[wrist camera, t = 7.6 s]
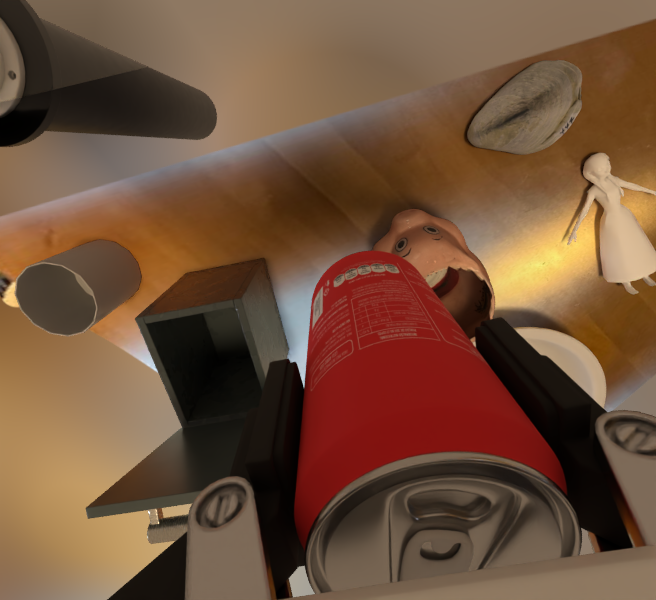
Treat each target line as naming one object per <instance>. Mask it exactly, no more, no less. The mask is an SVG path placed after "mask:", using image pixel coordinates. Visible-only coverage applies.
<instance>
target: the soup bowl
mask: <svg viewBox="0 0 656 600" xmlns="http://www.w3.org/2000/svg"><path fill="white" fill-rule="evenodd" d="M514 329H515V330H516V331H517V332H518V333H519V334H520V335H521V336H522V337H523V338H524V339H525V340H526V341H527V342H528V343H529V344H530V345H531V346H532V347H533V348H534V349H535V350H536V351H537V352H538V353H539V354H540V355H545V356H547V357H549V358H550V359H551V360H552V361H553V362H554V363H556V364H557V365H558V366H559V367H560V368H561V369H562V370H563V371H564V372H565V373H566V374H567V375H568V376H569V377H570V378H571V379H573V380H574V381H575V382H576V383H577V384H578V385H579V386H580V387H581V388H582V389H583V390H584V391H585V392H586V393H587V394H589V395H590V396H591V397H592V398H593V399H594V400H595V401H596V402H597V403H598V404H599V405H600V406H601V407H602V408H604V404H605V398H606V382H605V377H604V373H603V370H602V368H601V365H600V364H599V362H598V360H597V358H596V357H595V356H594V354H593V353H592V352H591V351H590V350H589V349H588V348H587V347H586V346H585V345H584V344H582V343H581V342H580V341H578V340H576V339H575V338H573V337H571V336H569V335H567V334H564V333H561V332H558V331H555V330H551V329H546V328H538V327H518V328H514ZM472 343H473V345H474V346H475V347H476V342H475V341H474V342H472Z"/></svg>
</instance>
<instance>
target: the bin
mask: <svg viewBox="0 0 656 600" xmlns="http://www.w3.org/2000/svg"><path fill="white" fill-rule="evenodd" d="M135 320H136V322H137V324H138V327H139V329H140V331H141V334H142V336H143V338H144V340H145V343H146V345H147V347H148V350H149V352H150V354H151V357H152V359H153V361H154V363H155V366H156V368H157V370H158V373H159V375H160V377H161V380H162V382H163V384H164V386H165V389H166V391H167V393H168V395H169V398H170V400H171V403H172V405H173V407H174V410H175V411H176V414H177V416H178V419H179V421H180V423H181V426H182V428H186V427H193V426H199V425H205V424H211V423H217V422H223V421H229V420H235V419H241V418H246V416H247V413H248V411H249V410H250V409H253V408H258V407H259V404H260V400H261V396H262V392H263V388H264V384H265V380H266V376H267V372H268V368H269V364H270V362H273V361H278V360H283V359H287V356H288V351H289V348H288V344H287V340H286V337H285V333H284V329H283V326H282V322H281V318H280V315H279V311H278V307H277V304H276V300H275V296H274V293H273V289H272V285H271V282H270V278H269V274H268V271H267V267H266V263H265V260H264V258H263V259H257V260H252V261H247V262H242V263H237V264H232V265H227V266H222V267H216V268H211V269H206V270H201V271H196V272H191V273H186V274H185V275H183V276H182V277H181V278H180V279H179V280H178V281H177V282H175V283H174V284H173V285H172V286H171V287H170V288H169V289H168V290H166V291H165V292H164V293H163V294H162V295H161V296H160V297H159V298H157V299H156V300H155V301H154V302H153V303H152V304H151V305H149V306H148V307H147V308H146V309H145V310H144V311H143V312H142V313H140V314H139V315H138V316H137V317H136V318H135Z"/></svg>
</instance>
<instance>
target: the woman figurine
mask: <svg viewBox="0 0 656 600" xmlns="http://www.w3.org/2000/svg"><path fill="white" fill-rule="evenodd" d="M609 163H610V162H609V157H608V156H607V155H606V154H605V153H597V154H594V155H591V156H590V157H589V158H588V159H587V161H586V162H585V164H584V169H583V175H584V177H585V178H586V179H587V180H589V181H590V182H592V183H594V185H593V186H592V187H591V188H590V189H589V190H588V191H587V193H588V195H587V199H586V202H585V205H584V207H583V210H582V211H581V213H580V215H579V217H578V220H577V222H576V224H575V226H574V229H573V231H572V233H571V235H570V237H569V239H568V243H567V245H568V244H569V245H570V243H571V241H572V239H575V242H576V238H577V235H576V231H577V229H578V227H579V225H580V223H581V222H582V220H583V219H584V217H585V216H586V215H587V213H588V211H589V208H590V206H591V204H592V202H593V200H594V198H595V199H596V200H597V201H598V202H599V203H600V204H601V205H602V206H603V208H604V213H603V215H602V217H601V219H600V256H601V264H602V271H603V277H604V278H605V279H606V280H607V281H608V282H618V283H623V285H624V287H625V289H626V291H627V292H629V293H631V294H636V293H638V291H636V290H635V289H634V288H633V287H632V286H631V284H630V281H634V280H638V279H641V278H643V280H644V281H645V283H647V284H648V285H650V286H654V285H656V283H655V282H654V281H653V280H652V279H651V278H650V277H648V275H650V274H652V273H653V272H655V271H656V251H655V249H654V248H653V246H652V244H651V243H650V241H649V239H648V238H647V236H646V234H645V233H644V231H643V229H642V228H641V226H640V224H639V223H638V221H637V219H636V218H635V216H634V215H633V213H632V212H631V211H630V209H628V208H627V207H625V206H624V205H622V204H620V197H621V195H622V196H623V197H624V190H622V189H621V187H625V188H627V189H630V190H636V191H643V192H647V193H651V194H653V195H655V196H656V191H653V190H650V189H647V188H644V187H641V186H639V185H636V184H633V183H629V182H626V181H623V180H621V179H619V178H618V176H617V177H614V176H613V175H611V173H610V170H611V166H610V164H609Z"/></svg>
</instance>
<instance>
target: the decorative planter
mask: <svg viewBox="0 0 656 600" xmlns="http://www.w3.org/2000/svg"><path fill="white" fill-rule="evenodd" d="M373 251H384V252H388V253H392V254H395V255H397V256H400V257H402V258H403V259H405V260H407V261H408V262H409V263H411V264H412V265H413V266H414V267H415V268H416V269H417V270H418V271H419V272H420V274H421V275H422V276H423V278H424V279H425V280H426V282H427V283H428V284H429V286H430V287H431V288H432V290H433V291H434V292H435V294H436V295H437V296H438V298H439V299H440V301H441V302H442V303H443V305H444V306H445V307H446V309H447V310H448V311H449V313H450V314H451V315H452V317H453V318H454V319H455V321H456V322H457V323H458V325H459V326H460V327H461V329H462V330H463V331H464V333H465V334H466V335H467V337H468V338H469V339H470V341H471V342H474V341H475V328H476V327H480V324H481V322H482V321H486V320H491V319H492V318H493V313H494V309H495V297H494V292H493V288H492V285H491V283H490V279H489V276H488V274H487V272H486V269H485V268H484V266H483V264H482V263H481V261H480V260H479V259H478V258H477V257H476V256H475V255H474V254H473V253H472V252H471V251H470V250H469V249H468V247H467V245H466V242H465V239H464V237H463V235H462V233H461V232H460V230H459V229H458V227H457V226H456V225H455V224H453V223H452V222H451V221H449V220H446V219H442V218H438V217H434V216H431V215H429V214H427V213H426V212H424V211H422V210H419V209H409V210H405V211H402V212H400V213H398V214H397V215H395V217H394V218H393V220H392V224H391V227H390V230H389V232H388V233H387V234H386V235H385V236H384V237H383V238H382V239H380V240H379V241H378V242H377V243H376V244H375V245H374V247H373Z"/></svg>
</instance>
